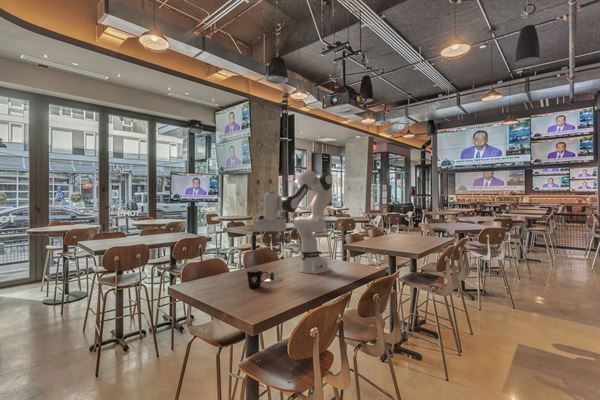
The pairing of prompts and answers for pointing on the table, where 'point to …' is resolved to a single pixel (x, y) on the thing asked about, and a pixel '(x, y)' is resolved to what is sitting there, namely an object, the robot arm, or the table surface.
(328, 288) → the table surface
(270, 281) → the lid
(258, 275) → the coffee mug
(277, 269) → the table surface
